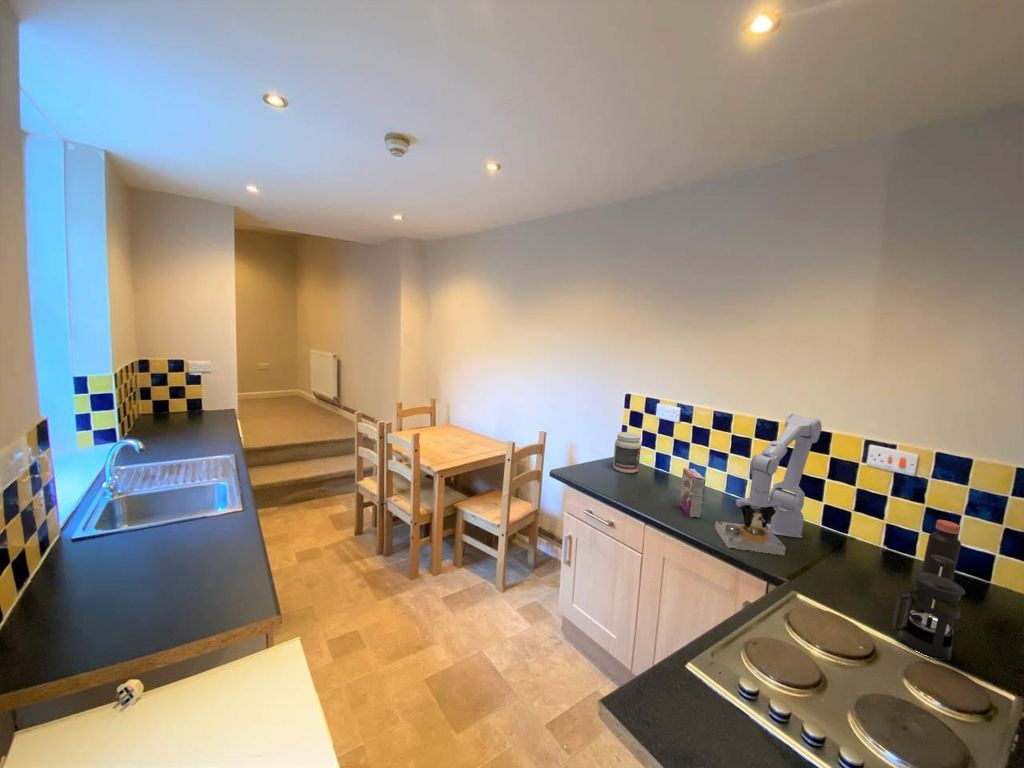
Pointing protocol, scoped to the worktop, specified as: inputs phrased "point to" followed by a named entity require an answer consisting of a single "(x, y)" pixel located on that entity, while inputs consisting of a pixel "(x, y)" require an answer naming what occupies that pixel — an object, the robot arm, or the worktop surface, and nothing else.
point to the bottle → (942, 548)
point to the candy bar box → (692, 492)
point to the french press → (925, 622)
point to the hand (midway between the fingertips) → (754, 526)
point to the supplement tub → (627, 452)
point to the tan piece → (756, 522)
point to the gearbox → (749, 539)
